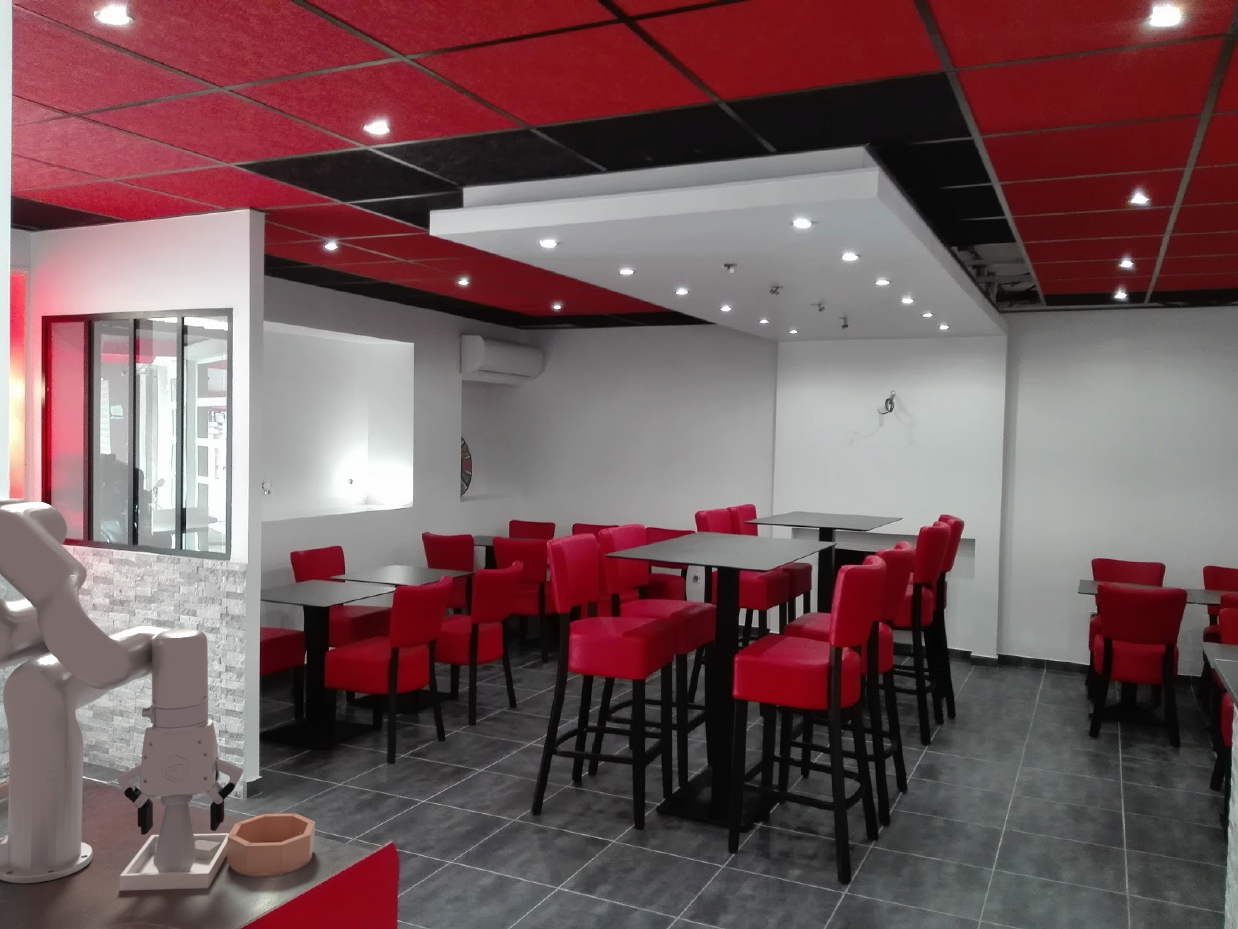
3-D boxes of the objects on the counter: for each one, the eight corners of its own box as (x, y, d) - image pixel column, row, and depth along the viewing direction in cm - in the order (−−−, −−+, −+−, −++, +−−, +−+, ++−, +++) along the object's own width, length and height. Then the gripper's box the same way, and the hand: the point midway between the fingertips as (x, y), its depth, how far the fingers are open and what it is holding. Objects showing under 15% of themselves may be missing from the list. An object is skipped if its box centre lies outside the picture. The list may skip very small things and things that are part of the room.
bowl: (220, 878, 143) (221, 846, 143) (239, 844, 155) (240, 814, 155) (305, 876, 145) (306, 844, 145) (317, 842, 157) (318, 813, 157)
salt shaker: (179, 884, 141) (181, 796, 140) (144, 879, 142) (146, 791, 142) (204, 867, 147) (206, 782, 146) (170, 862, 148) (172, 777, 147)
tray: (119, 891, 139) (119, 875, 138) (151, 848, 152) (151, 835, 152) (208, 888, 140) (208, 873, 140) (231, 847, 154) (232, 833, 154)
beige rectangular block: (185, 857, 150) (186, 847, 150) (197, 849, 153) (198, 839, 152) (209, 861, 149) (209, 850, 149) (220, 852, 152) (221, 842, 152)
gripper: (108, 724, 139) (109, 843, 139) (235, 719, 141) (236, 836, 142) (126, 709, 146) (128, 822, 147) (247, 705, 149) (248, 816, 149)
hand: (181, 829), depth 144 cm, fingers open, 9 cm apart
